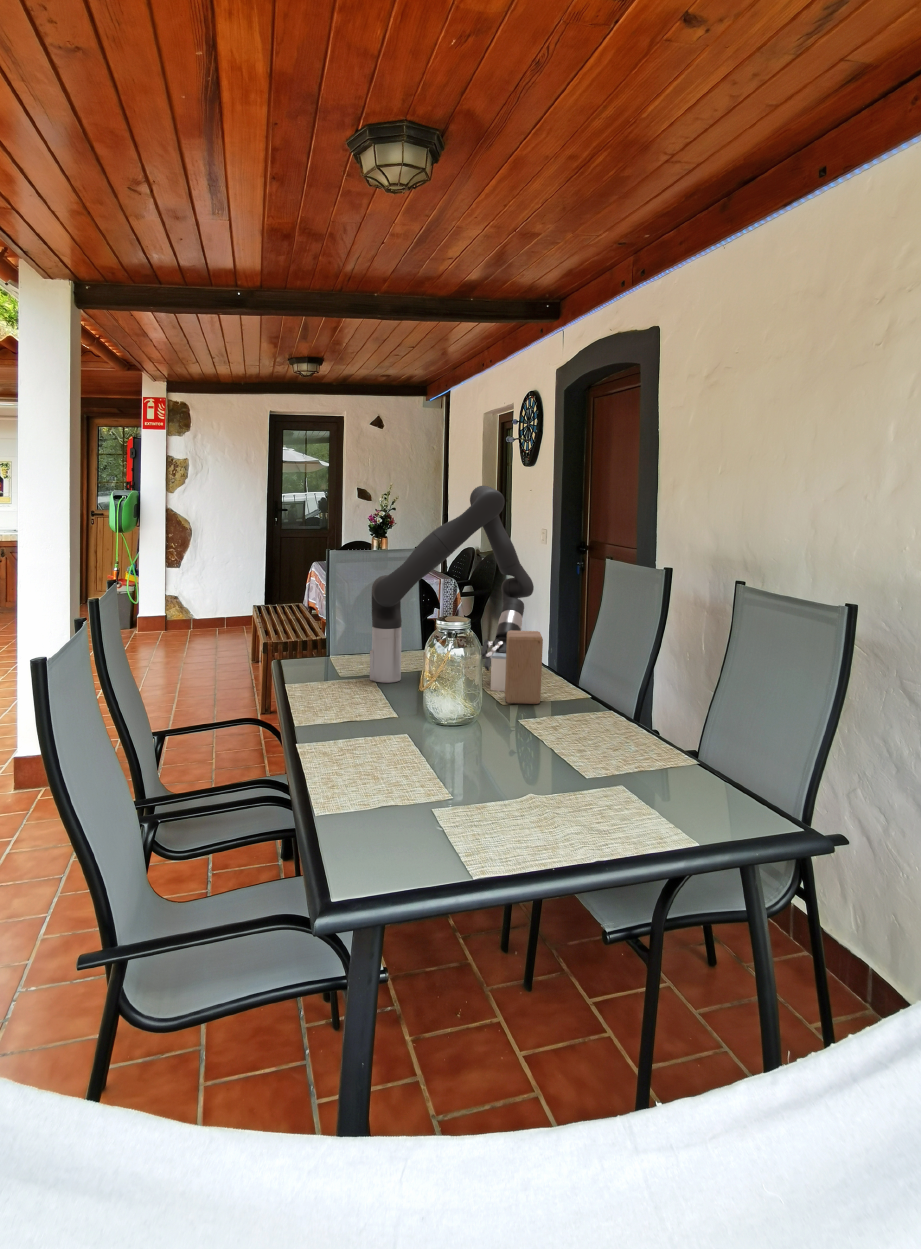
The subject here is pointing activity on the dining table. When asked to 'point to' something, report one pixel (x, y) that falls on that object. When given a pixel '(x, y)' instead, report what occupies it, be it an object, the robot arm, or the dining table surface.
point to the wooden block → (523, 667)
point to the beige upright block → (498, 671)
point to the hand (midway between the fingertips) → (500, 670)
